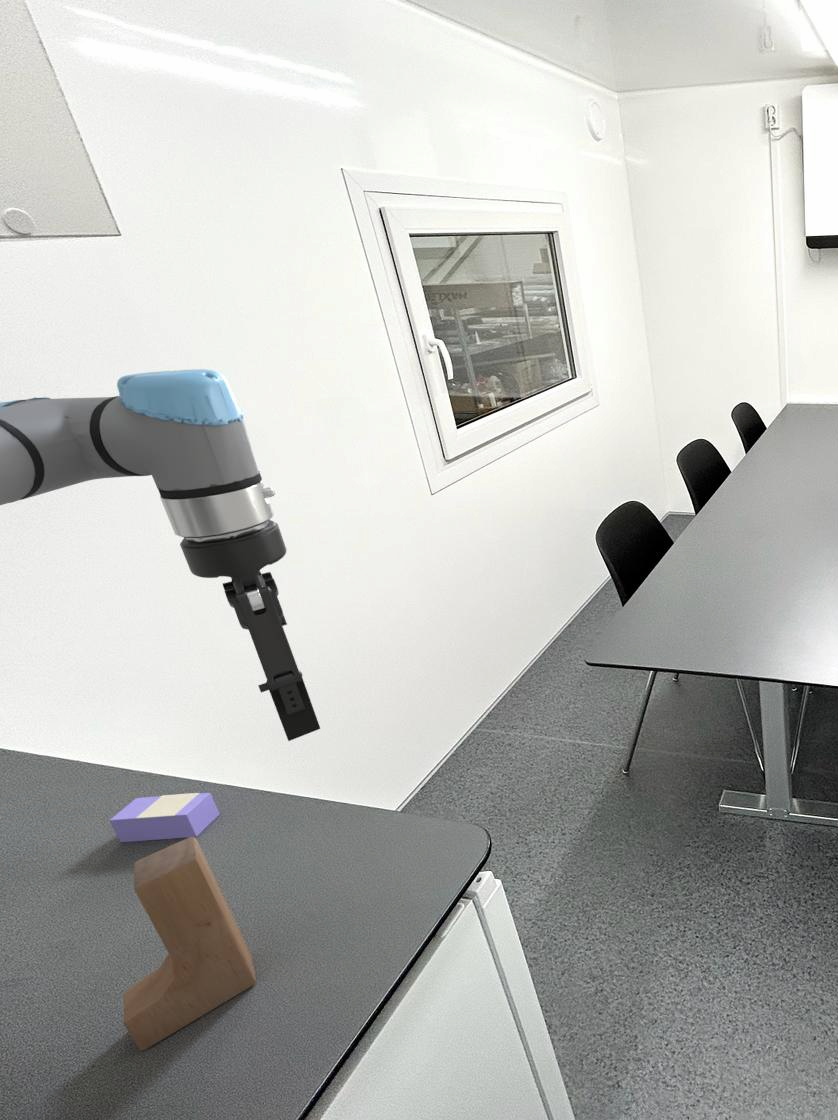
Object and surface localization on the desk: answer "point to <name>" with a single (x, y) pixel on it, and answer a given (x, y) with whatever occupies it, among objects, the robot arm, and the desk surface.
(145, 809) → the snack box
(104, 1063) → the desk surface
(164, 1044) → the desk surface
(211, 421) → the robot arm
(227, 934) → the wooden block
